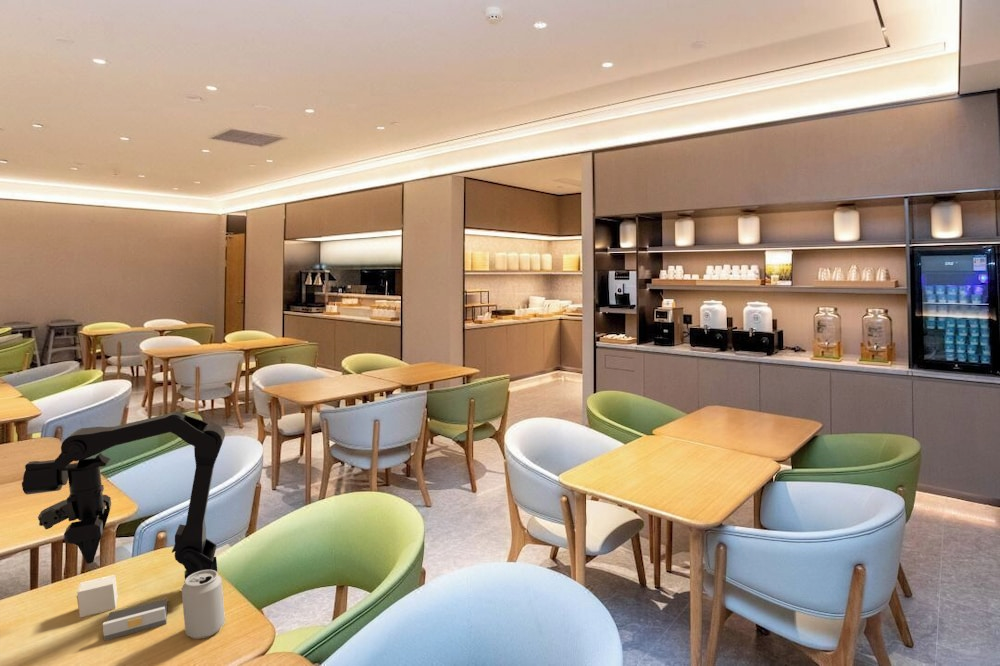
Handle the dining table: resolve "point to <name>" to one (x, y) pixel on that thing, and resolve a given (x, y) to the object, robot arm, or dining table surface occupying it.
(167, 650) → the dining table surface
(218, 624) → the can
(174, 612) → the dining table surface
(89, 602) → the carton
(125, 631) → the grey drawer
